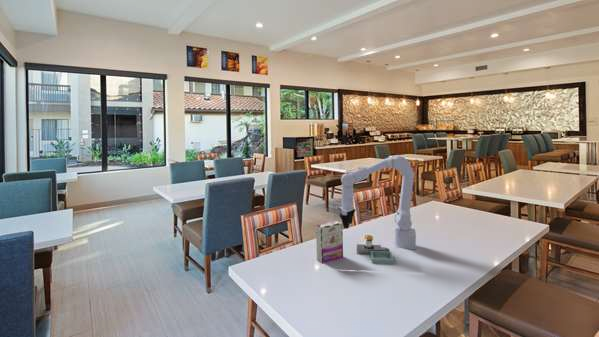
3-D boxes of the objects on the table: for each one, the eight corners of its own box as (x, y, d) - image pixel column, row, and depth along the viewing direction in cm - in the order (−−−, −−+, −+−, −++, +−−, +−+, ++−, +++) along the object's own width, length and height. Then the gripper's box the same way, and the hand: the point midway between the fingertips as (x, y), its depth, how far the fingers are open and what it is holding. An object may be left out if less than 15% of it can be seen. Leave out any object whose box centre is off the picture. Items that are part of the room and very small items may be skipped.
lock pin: (372, 249, 151) (372, 235, 150) (373, 252, 148) (373, 237, 147) (364, 249, 152) (364, 235, 151) (365, 252, 148) (365, 237, 147)
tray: (391, 256, 144) (391, 251, 144) (393, 265, 135) (393, 259, 135) (370, 255, 146) (370, 250, 145) (371, 264, 137) (371, 258, 137)
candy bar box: (337, 255, 148) (336, 220, 146) (343, 258, 143) (343, 222, 141) (316, 260, 143) (315, 224, 141) (322, 264, 138) (321, 227, 136)
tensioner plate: (389, 250, 152) (389, 245, 151) (390, 256, 145) (391, 250, 144) (356, 249, 154) (356, 244, 154) (356, 255, 147) (356, 249, 147)
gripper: (342, 195, 164) (343, 221, 166) (335, 201, 151) (336, 229, 152) (356, 195, 162) (356, 222, 163) (350, 202, 148) (351, 230, 150)
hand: (347, 225), depth 158 cm, fingers open, 7 cm apart
